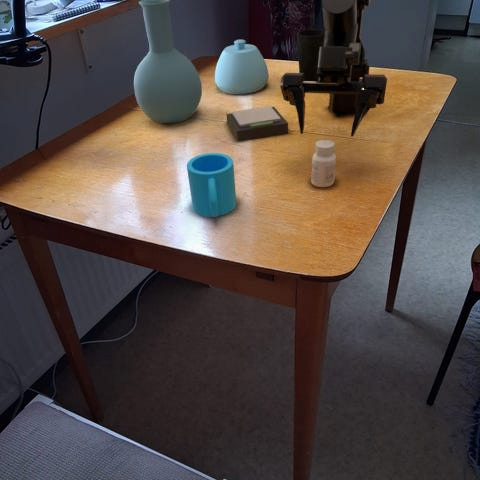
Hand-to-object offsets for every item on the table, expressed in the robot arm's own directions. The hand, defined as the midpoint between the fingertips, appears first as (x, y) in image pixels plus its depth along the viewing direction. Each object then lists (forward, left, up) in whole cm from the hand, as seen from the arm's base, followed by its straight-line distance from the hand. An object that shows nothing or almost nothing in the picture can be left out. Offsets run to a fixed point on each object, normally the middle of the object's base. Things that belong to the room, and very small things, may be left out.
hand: (326, 134), depth 88 cm
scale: (+6, -29, -9) cm, 31 cm away
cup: (-17, -56, -9) cm, 59 cm away
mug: (+23, +4, -9) cm, 25 cm away
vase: (+24, -45, -9) cm, 51 cm away
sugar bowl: (+2, -59, -9) cm, 59 cm away
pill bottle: (+1, +1, -9) cm, 9 cm away
